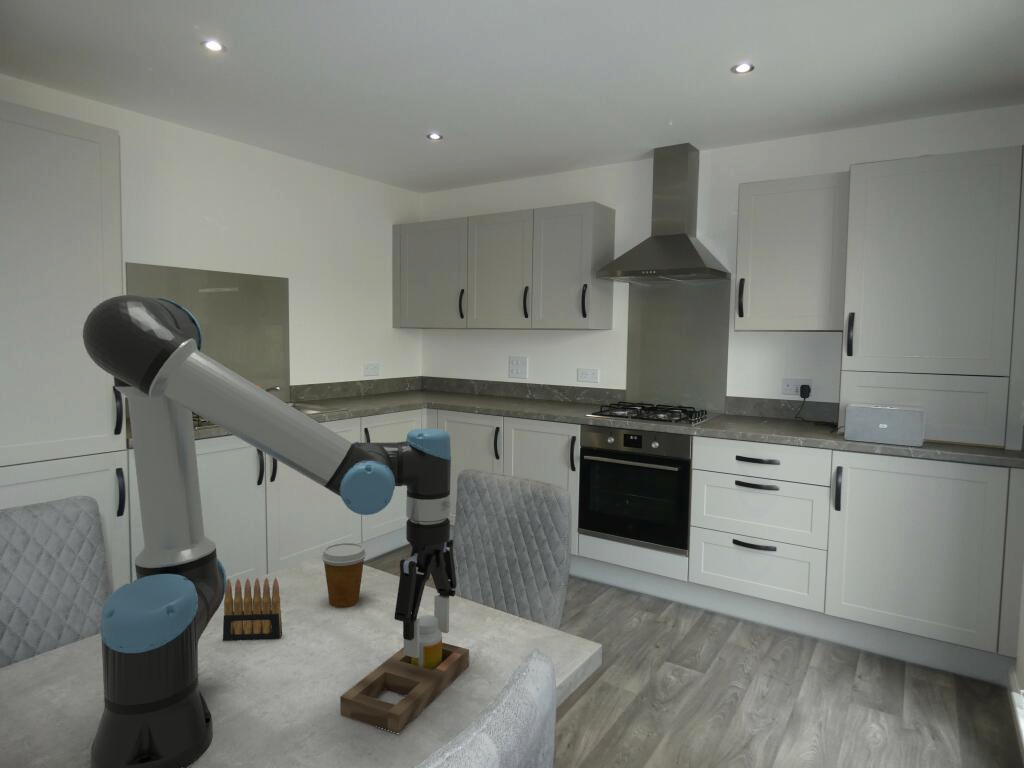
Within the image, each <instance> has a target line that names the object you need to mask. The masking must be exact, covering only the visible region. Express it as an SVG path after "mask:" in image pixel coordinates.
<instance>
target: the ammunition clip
mask: <svg viewBox="0 0 1024 768" xmlns="http://www.w3.org/2000/svg"><path fill="white" fill-rule="evenodd" d="M260 585H261V583H260V580H259V578H258V577H256V578H255V581H254V585H253V597H252V586H251V582H250V579H249V578H246V580H245V583H244V593H243V592H242V584H241V581H240V578H237V579H236V582H235V586H234V598H233V588H232V587H233V586H232V582H231V580H230V579H229V578H227V579H226V590H225V594H224V599H223V600H224V601H223V614H224V615H223V621H222V622H223V623H222V624H223V625H222V626H223V628H222V641H223V642H233V641H234V642H235V641H237V642H238V640H239V641H240V640H241V641H263V640H264V641H268V640H280V639H281V637H282V635H283V628H282V627H283V625H282V610H281V597H280V587H279V586H280V585H279V582H278V578H277V577H274V579H273V583H272V591H270V590H271V587H270V582H269V579H268V577H265V578H264V582H263V587H262V593H261V586H260ZM271 592H272V593H271ZM243 595H244V596H243Z"/></svg>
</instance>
